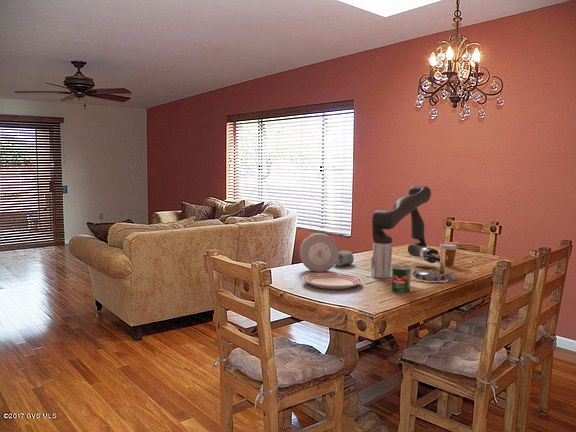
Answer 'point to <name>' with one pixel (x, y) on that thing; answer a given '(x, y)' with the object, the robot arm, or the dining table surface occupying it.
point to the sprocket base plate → (429, 281)
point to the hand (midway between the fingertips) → (443, 261)
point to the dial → (319, 259)
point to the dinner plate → (332, 280)
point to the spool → (344, 258)
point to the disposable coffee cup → (449, 253)
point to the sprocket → (432, 274)
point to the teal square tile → (452, 277)
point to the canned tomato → (401, 279)
